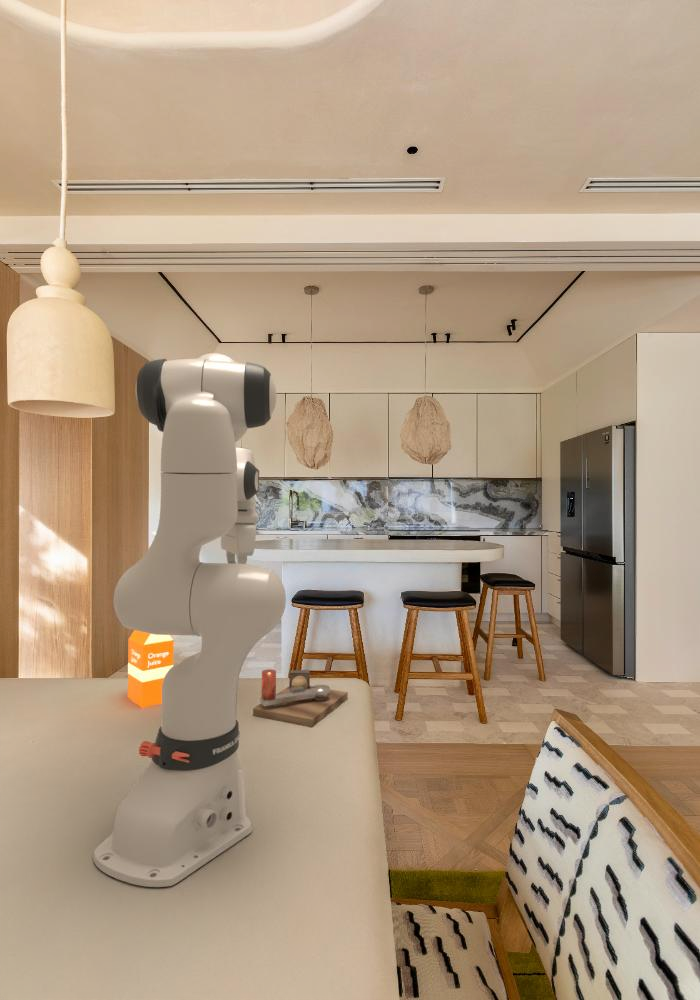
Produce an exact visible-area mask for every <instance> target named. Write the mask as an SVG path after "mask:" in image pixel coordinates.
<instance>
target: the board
mask: <svg viewBox="0 0 700 1000" xmlns="http://www.w3.org/2000/svg"><path fill="white" fill-rule="evenodd" d="M310 675H311V672H310V670H309V669H305V670H303V669H301V670H300V669H298V670H297V669H296V670H294V669H292V670H291V669H290V670H289V684H288V685H289V686H287V687H286V688H284V689H283V690H281V691H280V692H278V693H277V692H276V695H278V694H285V693H290V688H292V686H291V683H292V680H293V679H294V678H295V677H296V676H303V677H305V678H306V680H307V682H308V686H307V688H306V690H309V689H311V687H312V685H310V682H311V681H310V679H311V678H310V677H311V676H310ZM348 693H349V692H347V691H342V690H336V689H331V688H330V695H329V696H328V697H325V698H316V697H315V698H309V699H303V700H297V701H292V702H286V703H280V704H274V705H268V706H263V705H262V704H261V703H259V704H258V705H256V706H254V707H253V708H252V716H253V717H260V718H264V719H269V720H270V719H271V720H274V721H280V722H285V723H289V724H295V725H299V726H303V727H310V728H313V727H314V726H315V725H317V724H318V723H319V722H320V721H322V720H323V719H324V718H326V717H327V716H328V715H329V714H330V713H332V712H333V711H334V710H336V709H337V708H338V707H340V706H341V704H343V703H344V702H346V701H347V700H348V699H349V698H348V695H349V694H348Z"/></svg>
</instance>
